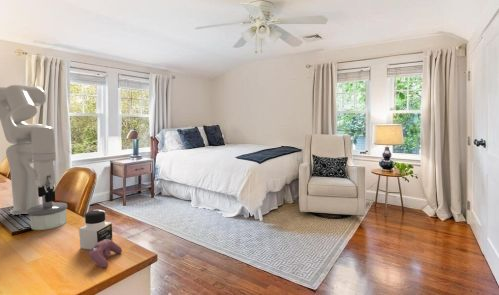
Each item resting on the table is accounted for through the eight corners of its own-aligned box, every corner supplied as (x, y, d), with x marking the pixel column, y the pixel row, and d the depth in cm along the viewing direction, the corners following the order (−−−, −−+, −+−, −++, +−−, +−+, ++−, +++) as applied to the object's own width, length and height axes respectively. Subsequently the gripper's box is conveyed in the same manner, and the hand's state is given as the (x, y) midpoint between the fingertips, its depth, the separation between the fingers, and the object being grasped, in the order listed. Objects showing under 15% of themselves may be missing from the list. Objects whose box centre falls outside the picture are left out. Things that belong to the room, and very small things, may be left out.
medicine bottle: (98, 251, 90) (96, 215, 89) (79, 248, 91) (77, 214, 90) (113, 241, 97) (111, 208, 96) (95, 239, 98) (93, 207, 97)
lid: (23, 210, 110) (22, 196, 110) (61, 203, 120) (60, 189, 120) (32, 218, 102) (30, 203, 101) (72, 209, 112) (71, 195, 111)
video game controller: (112, 256, 90) (101, 238, 89) (124, 250, 89) (113, 232, 89) (94, 273, 80) (82, 253, 79) (107, 267, 79) (96, 246, 79)
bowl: (27, 224, 111) (26, 210, 110) (61, 217, 120) (60, 204, 119) (35, 232, 104) (34, 217, 103) (70, 223, 112) (69, 209, 112)
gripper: (26, 155, 111) (29, 196, 114) (38, 161, 100) (41, 206, 102) (49, 153, 117) (51, 192, 119) (62, 159, 106) (64, 201, 108)
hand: (46, 198), depth 111 cm, fingers open, 9 cm apart
